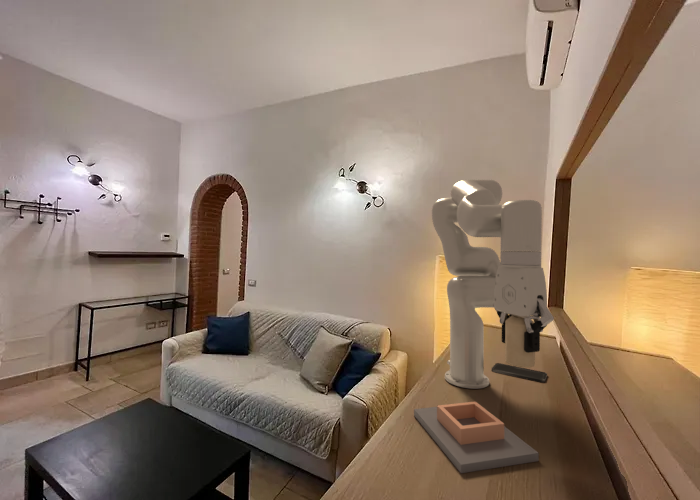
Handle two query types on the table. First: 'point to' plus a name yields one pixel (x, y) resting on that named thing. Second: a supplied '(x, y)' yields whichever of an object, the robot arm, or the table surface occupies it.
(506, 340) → the candle
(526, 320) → the robot arm
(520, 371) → the phone
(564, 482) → the table surface
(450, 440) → the candle stand
